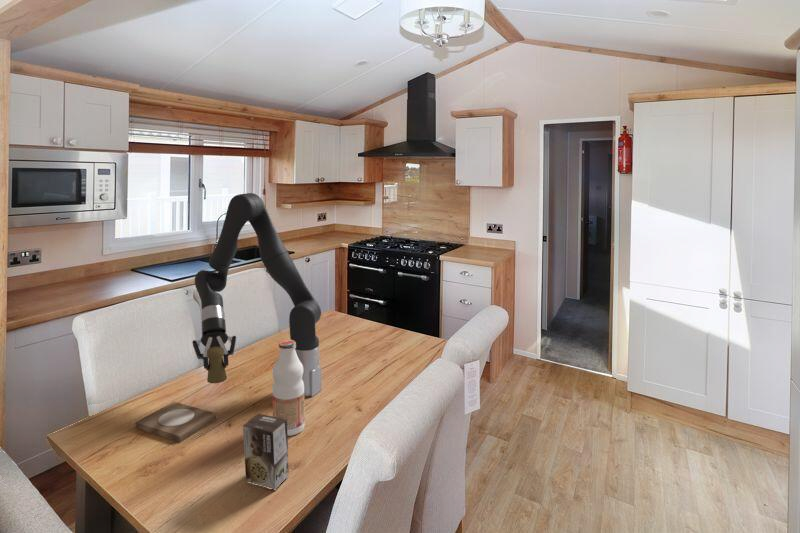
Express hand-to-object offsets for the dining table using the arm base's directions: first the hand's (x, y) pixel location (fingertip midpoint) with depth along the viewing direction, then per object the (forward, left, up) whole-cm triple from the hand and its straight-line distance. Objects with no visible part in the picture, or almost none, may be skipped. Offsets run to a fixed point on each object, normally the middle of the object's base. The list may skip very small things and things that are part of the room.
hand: (216, 367), depth 145 cm
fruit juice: (-28, 0, -15) cm, 31 cm away
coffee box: (-37, +22, -15) cm, 45 cm away
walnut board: (+5, +12, -15) cm, 20 cm away
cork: (+1, -1, -5) cm, 5 cm away
